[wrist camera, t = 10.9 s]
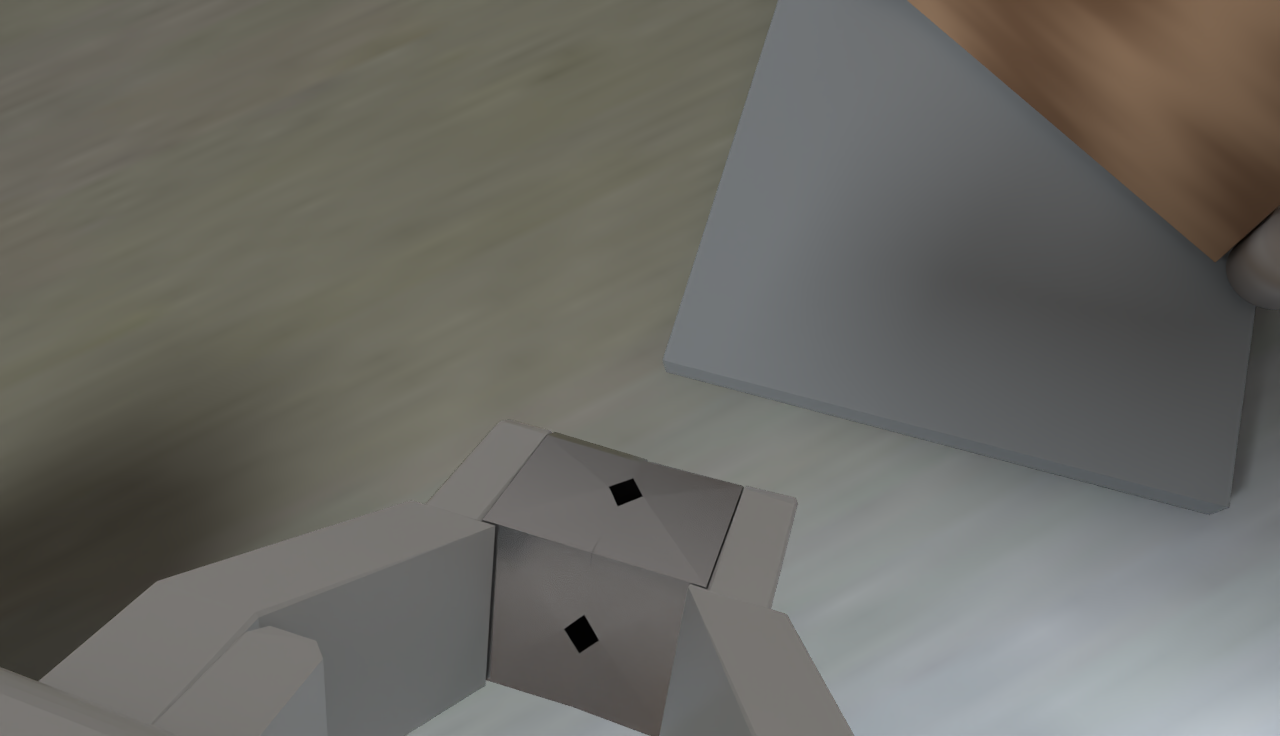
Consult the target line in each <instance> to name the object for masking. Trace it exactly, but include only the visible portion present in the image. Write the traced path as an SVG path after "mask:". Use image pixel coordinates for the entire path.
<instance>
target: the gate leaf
mask: <svg viewBox="0 0 1280 736" xmlns="http://www.w3.org/2000/svg"><path fill="white" fill-rule="evenodd" d="M907 1H908V2H910V3H911V4H912V5H913V6H914V7H915V8H917V9H918V10H919V11H920V12H921V13H922V14H924V15H925V16H926V17H927V18H928V19H930V20H931V21H932V22H933V23H934V24H935V25H937V26H938V27H939V28H940V29H941V30H942V31H944V32H945V33H946V34H947V35H948V36H949V37H951V38H952V39H953V40H954V41H955V42H957V43H958V44H959V45H960V46H961V47H962V48H964V49H965V50H966V51H967V52H968V53H969V54H971V55H972V56H973V57H974V58H975V59H977V60H978V61H979V62H980V63H981V64H982V65H984V66H985V67H986V68H987V69H988V70H989V71H991V72H992V73H993V74H994V75H995V76H996V77H998V78H999V79H1000V80H1001V81H1002V82H1004V83H1005V84H1006V85H1007V86H1008V87H1009V88H1011V89H1012V90H1013V91H1014V92H1015V93H1016V94H1018V95H1019V96H1020V97H1021V98H1022V99H1024V100H1025V101H1026V102H1027V103H1028V104H1029V105H1031V106H1032V107H1033V108H1034V109H1035V110H1036V111H1038V112H1039V113H1040V114H1041V115H1042V116H1043V117H1045V118H1046V119H1047V120H1048V121H1049V122H1051V123H1052V124H1053V125H1054V126H1055V127H1056V128H1058V129H1059V130H1060V131H1061V132H1062V133H1063V134H1065V135H1066V136H1067V137H1068V138H1069V139H1071V140H1072V141H1073V142H1074V143H1075V144H1076V145H1078V146H1079V147H1080V148H1081V149H1082V150H1083V151H1085V152H1086V153H1087V154H1088V155H1089V156H1090V157H1092V158H1093V159H1094V160H1095V161H1096V162H1098V163H1099V164H1100V165H1101V166H1102V167H1103V168H1105V169H1106V170H1107V171H1108V172H1109V173H1110V174H1112V175H1113V176H1114V177H1115V178H1116V179H1118V180H1119V181H1120V182H1121V183H1122V184H1123V185H1125V186H1126V187H1127V188H1128V189H1129V190H1130V191H1132V192H1133V193H1134V194H1135V195H1136V196H1137V197H1139V198H1140V199H1141V200H1142V201H1143V202H1145V203H1146V204H1147V205H1148V206H1149V207H1150V208H1152V209H1153V210H1154V211H1155V212H1156V213H1157V214H1159V215H1160V216H1161V217H1162V218H1163V219H1165V220H1166V221H1167V222H1168V223H1169V224H1170V225H1172V226H1173V227H1174V228H1175V229H1176V230H1177V231H1179V232H1180V233H1181V234H1182V235H1183V236H1184V237H1186V238H1187V239H1188V240H1189V241H1190V242H1192V243H1193V244H1194V245H1195V246H1196V247H1197V248H1199V249H1200V250H1201V251H1202V252H1203V253H1204V254H1206V255H1207V256H1208V257H1209V258H1210V259H1212V260H1213V261H1214V262H1217V261H1218V260H1219V259H1220V258H1221V257H1223V256H1224V255H1225V254H1226V253H1227V252H1229V251H1230V250H1231V249H1232V248H1233V247H1234V248H1233V249H1232V250H1231V252H1230V254H1229V255H1228V258H1227V262H1226V273H1227V277H1228V280H1229V282H1230V284H1231V286H1232V287H1233V289H1234V290H1235V291H1236V293H1237V294H1238V295H1240V296H1241V297H1242V298H1243V299H1244V300H1246V301H1248V302H1249V303H1251V304H1253V305H1255V306H1258V307H1261V308H1265V309H1271V310H1280V0H907Z"/></svg>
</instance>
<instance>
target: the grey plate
mask: <svg viewBox="0 0 1280 736" xmlns="http://www.w3.org/2000/svg"><path fill="white" fill-rule="evenodd" d="M1233 248H1234V247H1233ZM1233 248H1232V249H1233ZM1232 249H1231V250H1232ZM1231 250H1230V251H1229V252H1227V253H1226V254H1225V255H1224V256H1223V257H1221V258H1220V259H1219V260H1218V261H1217V262H1214V261H1213V260H1212V259H1210V258H1209V257H1208V256H1207V255H1206V254H1204V253H1203V252H1202V251H1201V250H1200V249H1199V248H1197V247H1196V246H1195V245H1194V244H1193V243H1192V242H1190V241H1189V240H1188V239H1187V238H1186V237H1184V236H1183V235H1182V234H1181V233H1180V232H1179V231H1177V230H1176V229H1175V228H1174V227H1173V226H1172V225H1170V224H1169V223H1168V222H1167V221H1166V220H1165V219H1163V218H1162V217H1161V216H1160V215H1159V214H1157V213H1156V212H1155V211H1154V210H1153V209H1152V208H1150V207H1149V206H1148V205H1147V204H1146V203H1145V202H1143V201H1142V200H1141V199H1140V198H1139V197H1137V196H1136V195H1135V194H1134V193H1133V192H1132V191H1130V190H1129V189H1128V188H1127V187H1126V186H1125V185H1123V184H1122V183H1121V182H1120V181H1119V180H1118V179H1116V178H1115V177H1114V176H1113V175H1112V174H1110V173H1109V172H1108V171H1107V170H1106V169H1105V168H1103V167H1102V166H1101V165H1100V164H1099V163H1098V162H1096V161H1095V160H1094V159H1093V158H1092V157H1090V156H1089V155H1088V154H1087V153H1086V152H1085V151H1083V150H1082V149H1081V148H1080V147H1079V146H1078V145H1076V144H1075V143H1074V142H1073V141H1072V140H1071V139H1069V138H1068V137H1067V136H1066V135H1065V134H1063V133H1062V132H1061V131H1060V130H1059V129H1058V128H1056V127H1055V126H1054V125H1053V124H1052V123H1051V122H1049V121H1048V120H1047V119H1046V118H1045V117H1043V116H1042V115H1041V114H1040V113H1039V112H1038V111H1036V110H1035V109H1034V108H1033V107H1032V106H1031V105H1029V104H1028V103H1027V102H1026V101H1025V100H1024V99H1022V98H1021V97H1020V96H1019V95H1018V94H1016V93H1015V92H1014V91H1013V90H1012V89H1011V88H1009V87H1008V86H1007V85H1006V84H1005V83H1004V82H1002V81H1001V80H1000V79H999V78H998V77H996V76H995V75H994V74H993V73H992V72H991V71H989V70H988V69H987V68H986V67H985V66H984V65H982V64H981V63H980V62H979V61H978V60H977V59H975V58H974V57H973V56H972V55H971V54H969V53H968V52H967V51H966V50H965V49H964V48H962V47H961V46H960V45H959V44H958V43H957V42H955V41H954V40H953V39H952V38H951V37H949V36H948V35H947V34H946V33H945V32H944V31H942V30H941V29H940V28H939V27H938V26H937V25H935V24H934V23H933V22H932V21H931V20H930V19H928V18H927V17H926V16H925V15H924V14H922V13H921V12H920V11H919V10H918V9H917V8H915V7H914V6H913V5H912V4H911V3H910V2H908V1H907V0H778V3H777V6H776V9H775V12H774V15H773V18H772V21H771V24H770V28H769V31H768V34H767V37H766V40H765V43H764V46H763V49H762V52H761V56H760V59H759V62H758V65H757V68H756V71H755V74H754V77H753V80H752V84H751V87H750V90H749V93H748V96H747V99H746V102H745V105H744V108H743V112H742V115H741V118H740V121H739V124H738V127H737V130H736V133H735V136H734V140H733V143H732V146H731V149H730V152H729V155H728V158H727V161H726V164H725V168H724V171H723V174H722V177H721V180H720V183H719V186H718V189H717V192H716V196H715V199H714V202H713V205H712V208H711V211H710V214H709V217H708V220H707V224H706V227H705V230H704V233H703V236H702V239H701V242H700V245H699V248H698V252H697V255H696V258H695V261H694V264H693V267H692V270H691V273H690V276H689V280H688V283H687V286H686V289H685V292H684V295H683V298H682V301H681V305H680V308H679V311H678V314H677V317H676V320H675V323H674V326H673V329H672V333H671V336H670V339H669V342H668V345H667V348H666V351H665V354H664V357H663V363H664V366H665V370H666V372H669V373H672V374H676V375H680V376H684V377H688V378H692V379H695V380H699V381H703V382H707V383H711V384H714V385H718V386H722V387H726V388H730V389H733V390H737V391H741V392H745V393H749V394H752V395H756V396H760V397H764V398H768V399H771V400H775V401H779V402H783V403H787V404H790V405H794V406H798V407H802V408H806V409H809V410H813V411H817V412H821V413H825V414H828V415H832V416H836V417H840V418H844V419H847V420H851V421H855V422H859V423H863V424H866V425H870V426H874V427H878V428H882V429H885V430H889V431H893V432H897V433H901V434H904V435H908V436H912V437H916V438H920V439H923V440H927V441H931V442H935V443H939V444H942V445H946V446H950V447H954V448H958V449H961V450H965V451H969V452H973V453H977V454H981V455H984V456H988V457H992V458H996V459H1000V460H1003V461H1007V462H1011V463H1015V464H1019V465H1022V466H1026V467H1030V468H1034V469H1038V470H1041V471H1045V472H1049V473H1053V474H1057V475H1060V476H1064V477H1068V478H1072V479H1076V480H1079V481H1083V482H1087V483H1091V484H1095V485H1098V486H1102V487H1106V488H1110V489H1114V490H1117V491H1121V492H1125V493H1129V494H1133V495H1136V496H1140V497H1144V498H1148V499H1152V500H1155V501H1159V502H1163V503H1167V504H1171V505H1174V506H1178V507H1182V508H1186V509H1190V510H1193V511H1197V512H1201V513H1205V514H1209V515H1210V514H1213V513H1216V512H1218V511H1221V510H1224V509H1227V508H1229V505H1230V497H1231V490H1232V482H1233V475H1234V467H1235V460H1236V452H1237V445H1238V437H1239V430H1240V422H1241V415H1242V407H1243V400H1244V392H1245V385H1246V377H1247V370H1248V362H1249V355H1250V347H1251V340H1252V332H1253V325H1254V317H1255V310H1256V306H1255V305H1253V304H1251V303H1249V302H1248V301H1246V300H1244V299H1243V298H1242V297H1241V296H1240V295H1238V294H1237V293H1236V291H1235V290H1234V289H1233V287H1232V286H1231V284H1230V282H1229V280H1228V277H1227V273H1226V262H1227V258H1228V255H1229V254H1230V252H1231Z"/></svg>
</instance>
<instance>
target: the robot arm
mask: <svg viewBox="0 0 1280 736" xmlns="http://www.w3.org/2000/svg"><path fill="white" fill-rule="evenodd" d="M797 505H798V503H797V500H796V498H795V497H790V496H786V495H782V494H778V493H774V492H770V491H766V490H762V489H757V488H753V487H749V486H746V487H745V488H744V487H743V486H741V485H737V484H733V483H730V482H726V481H722V480H718V479H714V478H710V477H707V476H703V475H699V474H695V473H691V472H687V471H684V470H680V469H676V468H672V467H668V466H664V465H661V464H657V463H653V462H649V461H648V460H647V459H643V458H640V457H637V456H633V455H630V454H627V453H623V452H620V451H617V450H613V449H610V448H607V447H603V446H600V445H597V444H593V443H590V442H587V441H584V440H580V439H577V438H574V437H570V436H567V435H564V434H560V433H557V432H554V433H552V432H551V431H550V430H547V429H543V428H540V427H536V426H532V425H529V424H525V423H521V422H518V421H514V420H511V419H507V420H502V421H500V422H498V423H497V424H496V425H495V426H494V427H493V428H492V429H491V430H490V431H489V433H488V434H487V435H486V436H485V437H484V438H483V439H482V441H481V442H480V443H479V444H478V445H477V446H476V447H475V448H474V450H473V451H472V452H471V453H470V454H469V455H468V456H467V457H466V459H465V460H464V461H463V462H462V463H461V464H460V465H459V466H458V468H457V469H456V470H455V471H454V472H453V473H452V474H451V475H450V477H449V478H448V479H447V480H446V481H445V482H444V483H443V485H442V486H441V487H440V488H439V489H438V490H437V491H436V492H435V494H434V495H433V496H432V497H431V498H430V499H429V500H428V501H427V503H426V504H423V503H420V502H416V501H413V500H410V501H407V502H404V503H400V504H397V505H394V506H391V507H388V508H385V509H382V510H379V511H375V512H372V513H369V514H366V515H363V516H360V517H357V518H353V519H350V520H347V521H344V522H341V523H338V524H335V525H331V526H328V527H325V528H322V529H319V530H316V531H313V532H309V533H306V534H303V535H300V536H297V537H294V538H291V539H288V540H284V541H281V542H278V543H275V544H272V545H269V546H266V547H262V548H259V549H256V550H253V551H250V552H247V553H244V554H240V555H237V556H234V557H231V558H228V559H225V560H222V561H218V562H215V563H212V564H209V565H206V566H203V567H200V568H197V569H193V570H190V571H187V572H184V573H181V574H178V575H175V576H171V577H168V578H165V579H162V580H159V581H156V582H155V583H154V584H153V585H152V586H150V587H149V588H148V589H147V590H146V591H144V592H143V593H142V594H141V595H140V596H139V597H137V598H136V599H135V600H134V601H133V602H131V603H130V604H129V605H128V606H127V607H126V608H124V609H123V610H122V611H121V612H120V613H118V614H117V615H116V616H115V617H114V618H113V619H111V620H110V621H109V622H108V623H107V624H105V625H104V626H103V627H102V628H101V629H99V630H98V631H97V632H96V633H95V634H94V635H92V636H91V637H90V638H89V639H88V640H86V641H85V642H84V643H83V644H82V645H81V646H79V647H78V648H77V649H76V650H75V651H73V652H72V653H71V654H70V655H69V656H68V657H66V658H65V659H64V660H63V661H62V662H60V663H59V664H58V665H57V666H56V667H54V668H53V669H52V670H51V671H50V672H49V673H47V674H46V675H45V676H44V677H43V678H41V679H40V680H39V681H36V680H33V679H30V678H28V677H25V676H23V675H20V674H17V673H15V672H12V671H9V670H7V669H4V668H2V667H0V736H405V735H407V734H409V733H410V732H412V731H413V730H415V729H417V728H418V727H420V726H421V725H423V724H425V723H426V722H428V721H429V720H431V719H433V718H434V717H436V716H437V715H439V714H441V713H442V712H444V711H445V710H447V709H449V708H450V707H452V706H453V705H455V704H457V703H458V702H460V701H461V700H463V699H465V698H466V697H468V696H469V695H471V694H473V693H474V692H476V691H477V690H479V689H481V688H482V687H484V686H485V684H486V680H487V681H490V682H494V683H497V684H500V685H503V686H507V687H510V688H513V689H516V690H519V691H523V692H526V693H529V694H532V695H536V696H539V697H542V698H545V699H549V700H552V701H555V702H558V703H562V704H565V705H568V706H571V707H574V708H577V709H579V710H582V711H585V712H587V713H590V714H593V715H595V716H598V717H601V718H604V719H606V720H609V721H612V722H614V723H617V724H620V725H622V726H625V727H628V728H630V729H633V730H636V731H639V732H641V733H644V734H647V735H649V736H854V734H853V732H852V731H851V729H850V727H849V725H848V723H847V722H846V720H845V718H844V716H843V714H842V713H841V711H840V709H839V707H838V705H837V704H836V702H835V700H834V698H833V697H832V695H831V693H830V691H829V689H828V688H827V686H826V684H825V682H824V680H823V679H822V677H821V675H820V673H819V671H818V670H817V668H816V666H815V664H814V662H813V661H812V659H811V657H810V655H809V653H808V652H807V650H806V648H805V646H804V644H803V643H802V641H801V639H800V637H799V635H798V634H797V632H796V630H795V628H794V626H793V625H792V623H791V621H790V619H789V617H788V616H787V615H786V614H785V613H782V612H778V611H775V610H772V609H771V607H772V603H773V599H774V595H775V591H776V588H777V584H778V580H779V576H780V572H781V568H782V564H783V560H784V556H785V552H786V548H787V544H788V541H789V537H790V533H791V529H792V525H793V521H794V517H795V513H796V509H797Z"/></svg>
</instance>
